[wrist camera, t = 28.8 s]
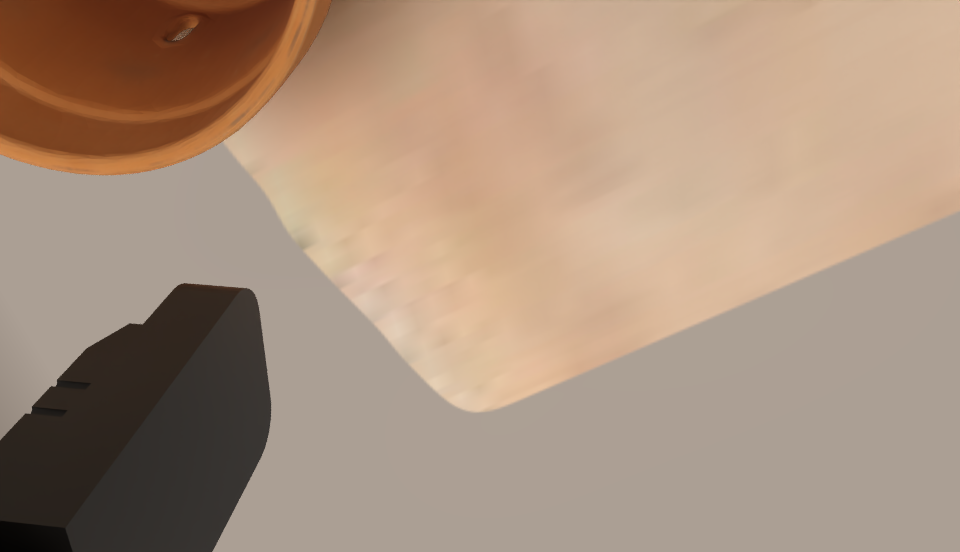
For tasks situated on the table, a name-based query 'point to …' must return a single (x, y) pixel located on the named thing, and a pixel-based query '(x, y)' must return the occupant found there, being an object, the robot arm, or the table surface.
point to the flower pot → (140, 76)
